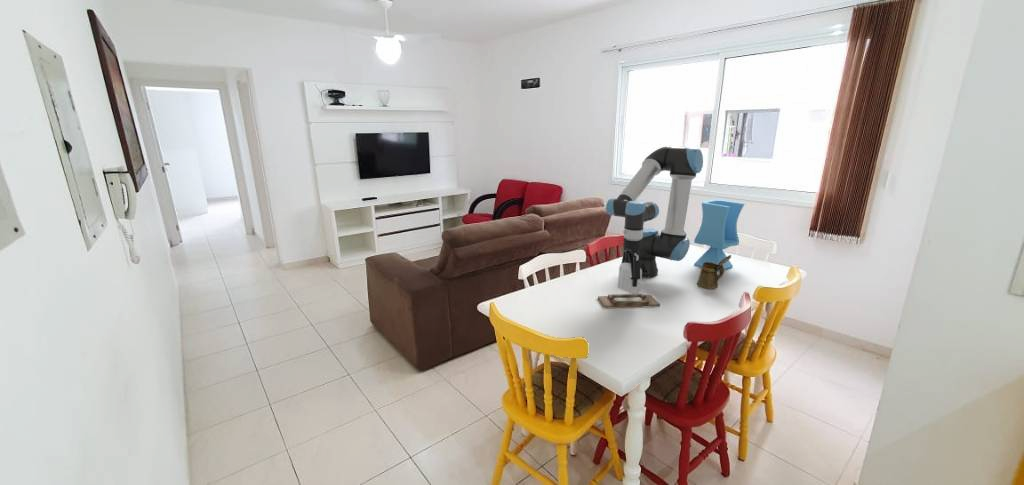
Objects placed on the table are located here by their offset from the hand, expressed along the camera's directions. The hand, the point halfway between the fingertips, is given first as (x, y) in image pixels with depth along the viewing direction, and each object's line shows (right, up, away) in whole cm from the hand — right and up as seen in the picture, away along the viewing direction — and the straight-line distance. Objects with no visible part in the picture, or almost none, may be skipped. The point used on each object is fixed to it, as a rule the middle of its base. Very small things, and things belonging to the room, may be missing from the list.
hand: (629, 288), depth 174 cm
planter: (+59, +6, +45) cm, 74 cm away
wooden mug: (+44, -2, +17) cm, 47 cm away
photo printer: (0, -1, 0) cm, 1 cm away
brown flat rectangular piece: (0, -6, +2) cm, 7 cm away
